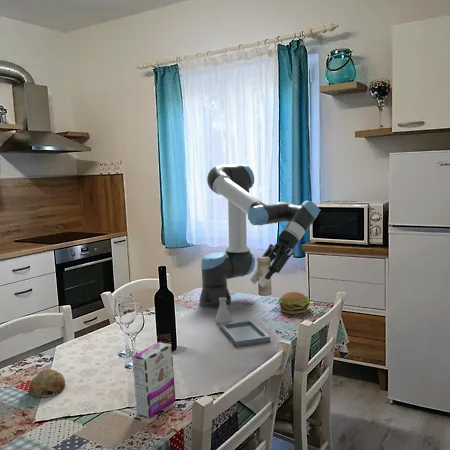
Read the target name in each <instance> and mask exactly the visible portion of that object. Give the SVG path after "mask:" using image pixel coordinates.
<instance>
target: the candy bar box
mask: <svg viewBox="0 0 450 450" xmlns="http://www.w3.org/2000/svg"><path fill="white" fill-rule="evenodd" d="M131 360H132V368H133V369H132V371H133V380H134V392H135V403H136V404H135V405H136V407H135V408H136V414H137V415H139V416H140V417H141V416H142V417H145V418H148V419H151V418H153V417H154V416H156V414H158V413H160V412H161V411H162V410H163V409H165V408H166V407H168V406H169V405H171V403H173V402H174V401H176V390H175V388H176V387H175V376H174V374H175V373H174V361H173V347H172V344H170V343H167V342H162V341H158V342H157V343H154V344H152V345H150V346H149V347H147V348H145V349H143V350H141V351H140V352H137V353H136V354H134V355H132V359H131Z"/></svg>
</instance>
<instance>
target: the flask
mask: <svg viewBox="0 0 450 450" xmlns="http://www.w3.org/2000/svg"><path fill="white" fill-rule="evenodd" d="M219 301H220V305H219V307H218V310H217V314H216V317H215V320H214V322H215V324H218V325H221V324H225V323H233V320H232V318H231V315H230V312H229V309H228V307H227V306H228V305H227V306H226V298H219Z"/></svg>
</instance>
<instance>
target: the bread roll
mask: <svg viewBox="0 0 450 450" xmlns="http://www.w3.org/2000/svg"><path fill="white" fill-rule="evenodd" d="M65 388H66V379H65V376H64V375H63V374H62V373H61V372H59V371H57V370H54V369H49V368H48V369H43V370H41V371H40V372H39V373H38V374H37V375H36V376H35V377H33V378H32V379H31V380H30V383H29V389H28V390H29V393H30V394H31V396H32V397H33V396H34V397H35V396H36V398H42V397H46V398H49V397H50V396H49V395H53V394H55V395H57V394H56V393H59V392H61V391H62V390H63V391H64V390H65ZM63 391H62V392H63ZM62 392H61V393H62ZM59 394H60V393H59ZM48 396H49V397H48ZM53 396H54V395H53Z"/></svg>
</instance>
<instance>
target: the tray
mask: <svg viewBox="0 0 450 450" xmlns="http://www.w3.org/2000/svg"><path fill="white" fill-rule="evenodd" d="M220 330H221V331H222V332H223V333H224V334H225V336H226V337H227V338H228V339H229V340H230V341H231V342H232V344H233V345H234V346H235V347H236V348H240V347H246V346H251V345H252V346H253V345H258V344H264V343H265V344H266V343H271V336H270V335H269V334H268V333H267V332H266V331H264V329H262V328H261V327H260V326H259V325H258V324H256V323H255V322H254V321H253V320H252V319H250V320H241V321H232V322H230V323H225V324H220Z"/></svg>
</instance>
